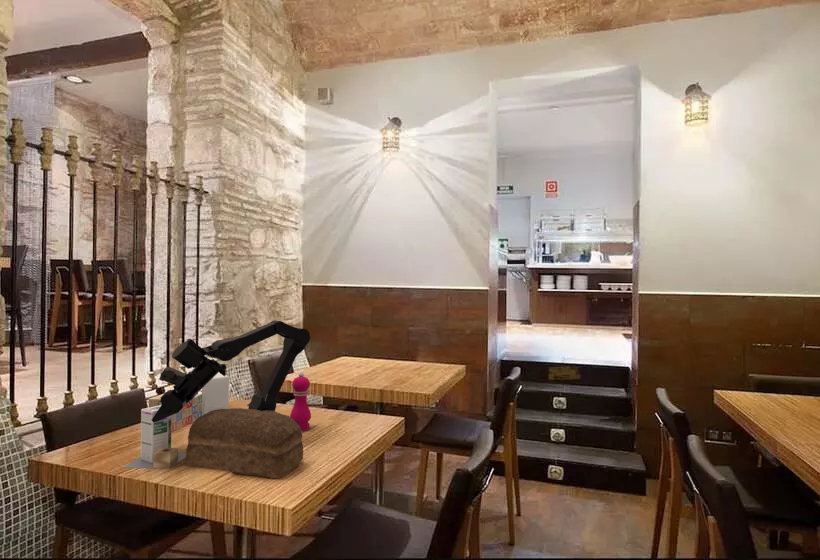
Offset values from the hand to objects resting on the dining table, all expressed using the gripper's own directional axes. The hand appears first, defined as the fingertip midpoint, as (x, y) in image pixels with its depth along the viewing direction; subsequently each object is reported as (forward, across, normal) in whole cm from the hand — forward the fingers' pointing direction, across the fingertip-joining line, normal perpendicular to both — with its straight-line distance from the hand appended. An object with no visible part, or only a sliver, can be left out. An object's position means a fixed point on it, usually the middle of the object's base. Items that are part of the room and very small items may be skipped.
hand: (158, 416), depth 135 cm
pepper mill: (-18, -25, +37) cm, 48 cm away
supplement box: (+5, -51, +13) cm, 53 cm away
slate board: (+8, +2, +9) cm, 13 cm away
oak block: (+6, +6, +11) cm, 14 cm away
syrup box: (+9, 0, +8) cm, 12 cm away
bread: (-8, +7, +27) cm, 29 cm away
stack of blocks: (+12, -36, +6) cm, 39 cm away
